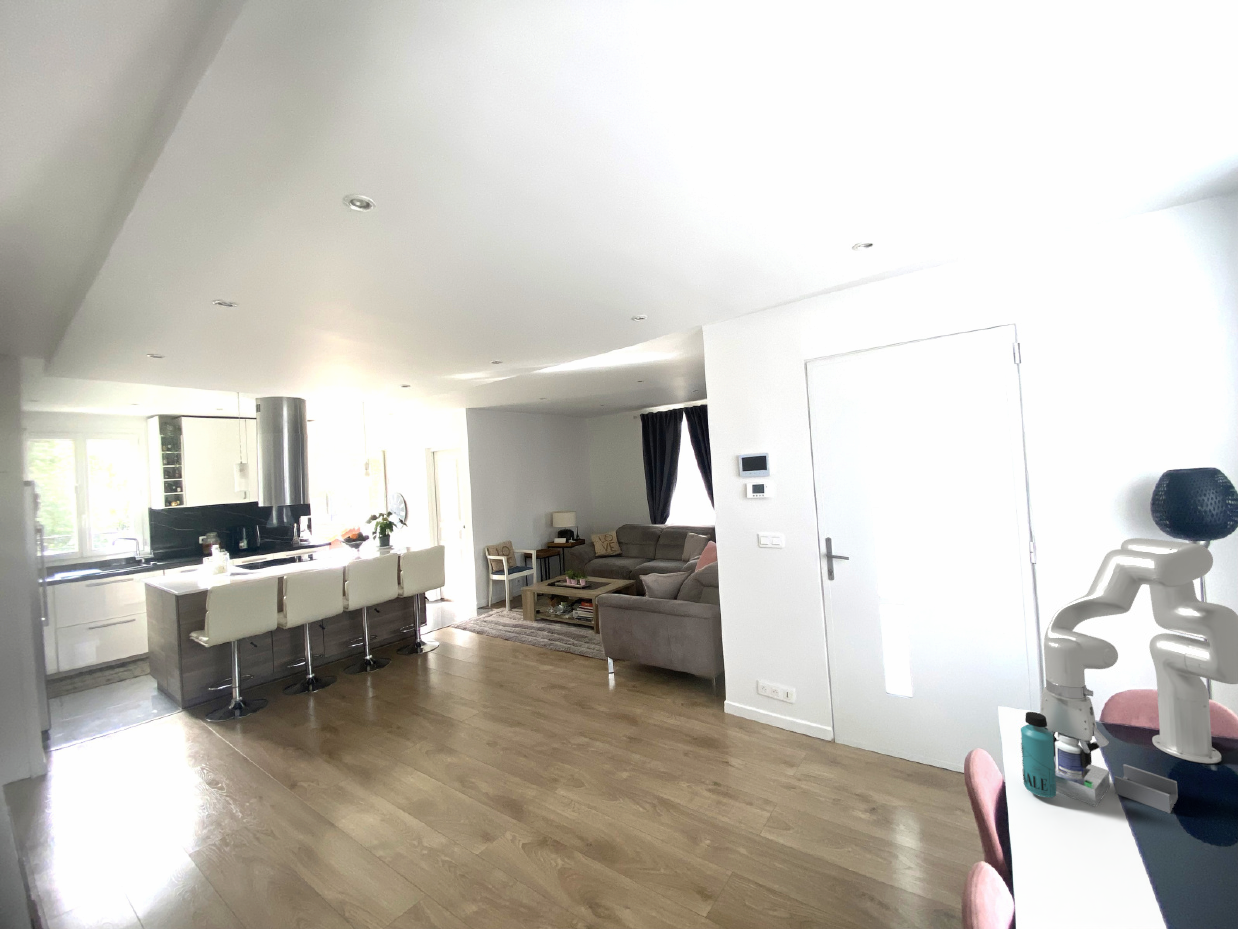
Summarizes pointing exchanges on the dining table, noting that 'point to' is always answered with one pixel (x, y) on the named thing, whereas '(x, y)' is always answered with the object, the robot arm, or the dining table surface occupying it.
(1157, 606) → the robot arm
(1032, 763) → the beverage bottle
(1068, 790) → the port
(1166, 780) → the grey open frame
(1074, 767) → the pill bottle
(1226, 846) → the dining table surface
